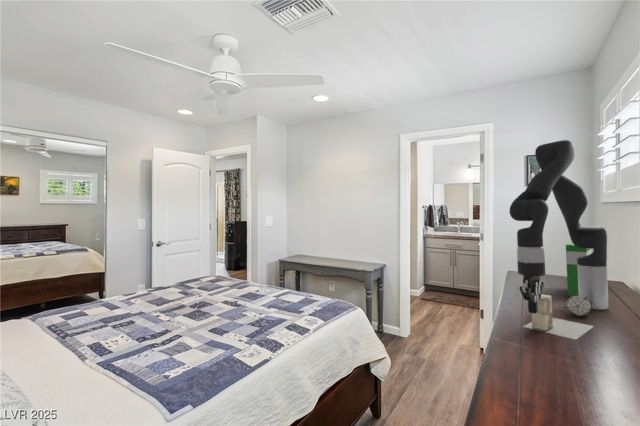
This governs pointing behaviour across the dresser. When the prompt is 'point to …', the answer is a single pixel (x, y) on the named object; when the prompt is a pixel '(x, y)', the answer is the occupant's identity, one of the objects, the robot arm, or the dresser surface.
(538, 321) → the maple block
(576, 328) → the felt mat
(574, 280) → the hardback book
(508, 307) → the dresser surface
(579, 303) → the game die
